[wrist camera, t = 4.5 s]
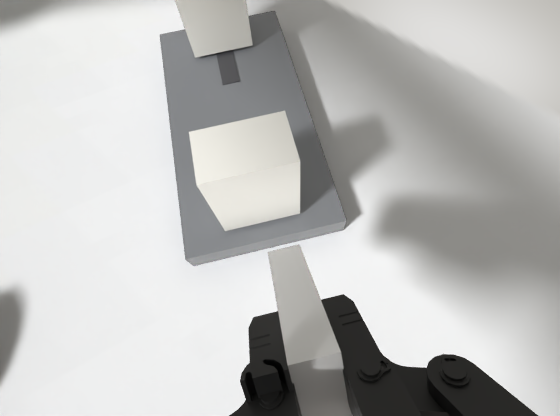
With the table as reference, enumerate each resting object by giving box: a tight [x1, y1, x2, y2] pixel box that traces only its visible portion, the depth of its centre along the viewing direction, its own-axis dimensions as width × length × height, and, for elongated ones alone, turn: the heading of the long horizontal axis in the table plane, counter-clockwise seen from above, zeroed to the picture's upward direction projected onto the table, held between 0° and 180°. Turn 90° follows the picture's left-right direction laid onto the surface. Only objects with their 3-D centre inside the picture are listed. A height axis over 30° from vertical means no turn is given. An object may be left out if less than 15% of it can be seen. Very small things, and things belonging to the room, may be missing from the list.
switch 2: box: [189, 111, 300, 231], centre depth 21 cm, size 4×6×7 cm, turn 103°
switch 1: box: [175, 0, 253, 58], centre depth 28 cm, size 4×6×7 cm, turn 103°
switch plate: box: [160, 11, 347, 266], centre depth 30 cm, size 27×12×2 cm, turn 13°
